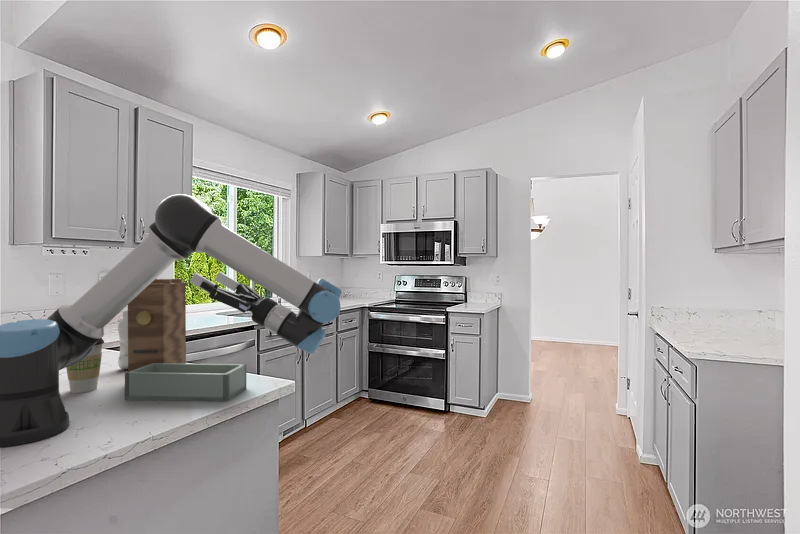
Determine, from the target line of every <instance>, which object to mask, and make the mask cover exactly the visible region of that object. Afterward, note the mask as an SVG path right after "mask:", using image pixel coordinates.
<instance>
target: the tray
mask: <svg viewBox="0 0 800 534" xmlns="http://www.w3.org/2000/svg"><path fill="white" fill-rule="evenodd" d="M246 389H247V364H246V363H244V364H243V363H187V362H186V363H152V364H149V365H146V366H143V367H140V368H138V369H135V370H132V371H129V372H128V371H127V372H125V373H124V400H126V401H127V400H130V401H132V400H138V401H139V400H140V401H143V400H144V401H180V402H182V401H194V402H195V401H196V402H199V401H200V402H229V401H230V400H232V399H233V398H235V397H236V396H237V395H239V394H241V393H242V392H243V391H245V390H246Z"/></svg>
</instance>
